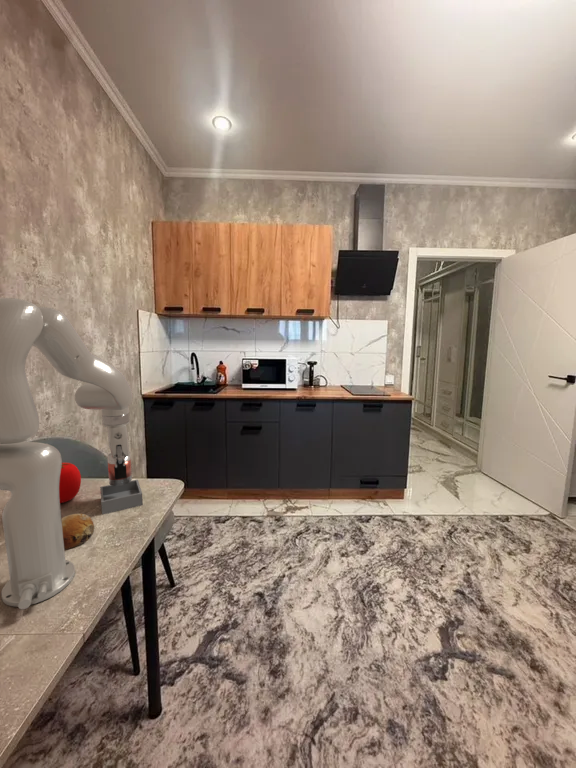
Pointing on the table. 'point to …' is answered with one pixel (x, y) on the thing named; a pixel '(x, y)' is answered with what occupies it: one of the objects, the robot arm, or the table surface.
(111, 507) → the crate
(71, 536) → the bread roll
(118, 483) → the red drink can
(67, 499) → the tomato
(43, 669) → the table surface
